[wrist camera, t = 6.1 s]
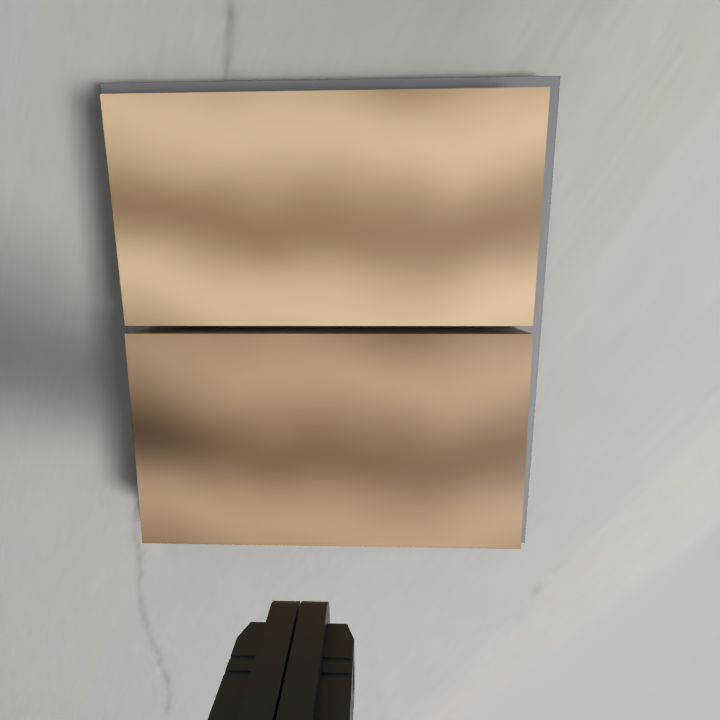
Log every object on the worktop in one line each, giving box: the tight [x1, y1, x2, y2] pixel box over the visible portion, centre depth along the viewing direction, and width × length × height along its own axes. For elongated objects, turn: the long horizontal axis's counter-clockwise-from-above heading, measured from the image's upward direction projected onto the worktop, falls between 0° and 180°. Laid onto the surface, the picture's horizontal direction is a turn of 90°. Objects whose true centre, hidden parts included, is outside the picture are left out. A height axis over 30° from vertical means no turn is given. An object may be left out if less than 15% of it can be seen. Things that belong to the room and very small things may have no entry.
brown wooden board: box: [124, 328, 533, 549], centre depth 20 cm, size 9×16×2 cm, turn 90°
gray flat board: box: [100, 76, 560, 543], centre depth 21 cm, size 20×18×1 cm
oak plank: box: [100, 87, 550, 326], centre depth 19 cm, size 8×16×2 cm, turn 90°
